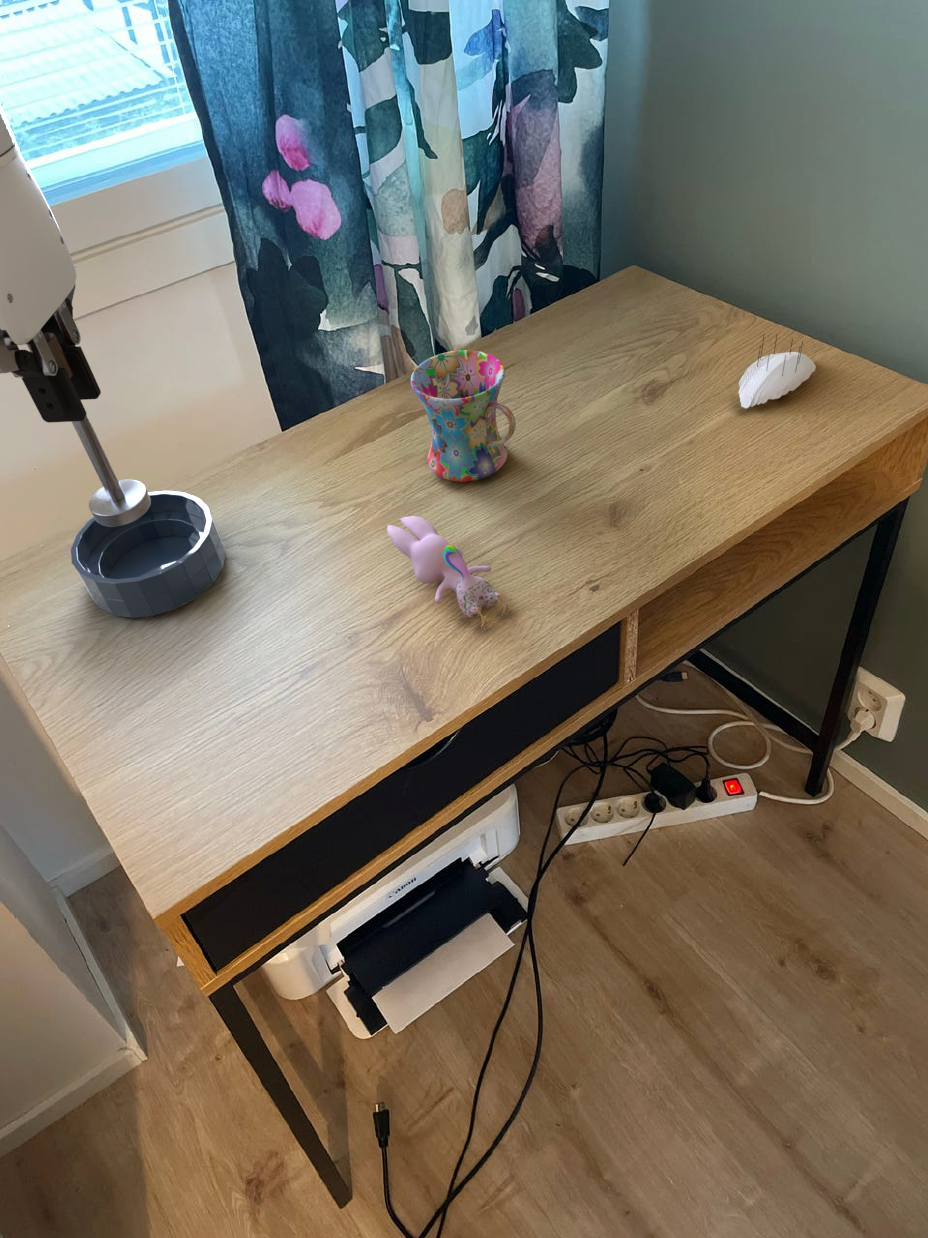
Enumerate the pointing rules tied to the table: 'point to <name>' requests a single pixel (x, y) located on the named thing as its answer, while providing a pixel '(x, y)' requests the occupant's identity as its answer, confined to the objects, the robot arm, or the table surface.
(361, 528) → the table surface
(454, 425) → the mug
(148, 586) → the bowl
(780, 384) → the pincushion
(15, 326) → the robot arm
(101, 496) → the wood-topped metal stand
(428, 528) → the rabbit figure
